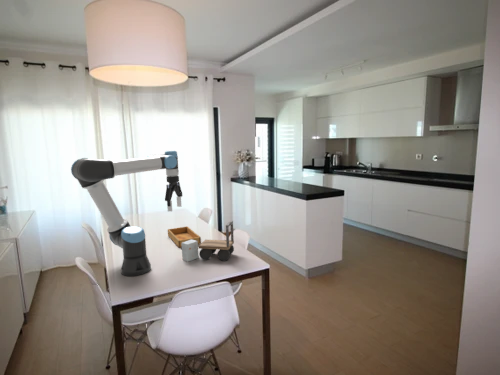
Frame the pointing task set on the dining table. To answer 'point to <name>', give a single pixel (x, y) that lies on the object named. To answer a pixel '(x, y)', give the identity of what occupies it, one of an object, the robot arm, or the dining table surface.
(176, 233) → the tray
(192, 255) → the small box
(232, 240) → the trolley
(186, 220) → the dining table surface
